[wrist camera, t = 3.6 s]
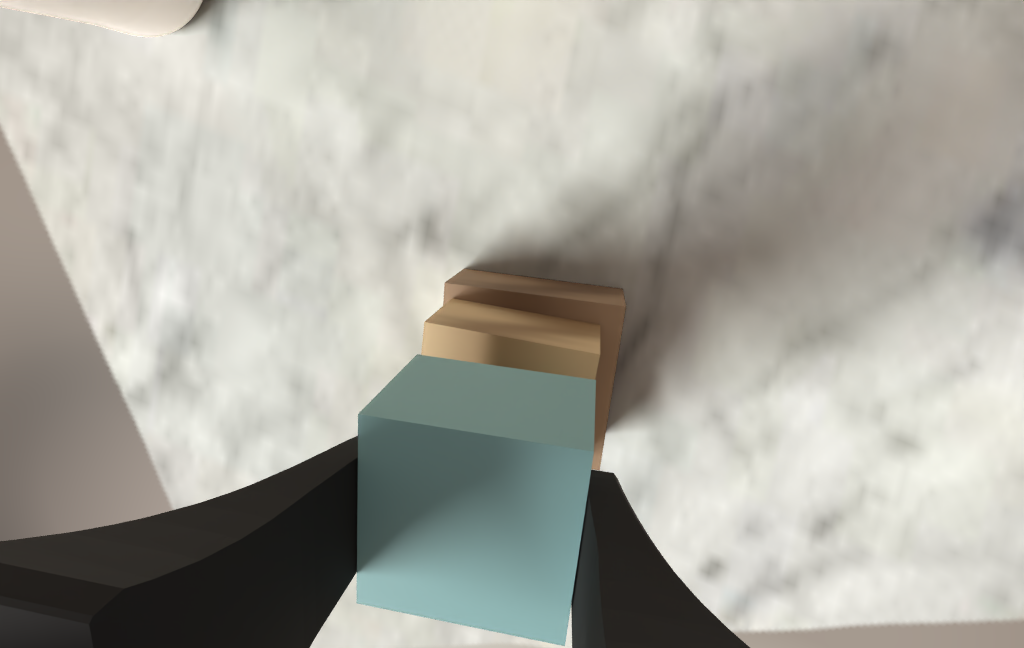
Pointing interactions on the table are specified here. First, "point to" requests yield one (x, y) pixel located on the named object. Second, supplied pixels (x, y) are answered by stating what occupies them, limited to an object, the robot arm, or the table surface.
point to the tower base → (557, 302)
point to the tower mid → (512, 339)
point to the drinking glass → (116, 13)
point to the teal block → (475, 495)
